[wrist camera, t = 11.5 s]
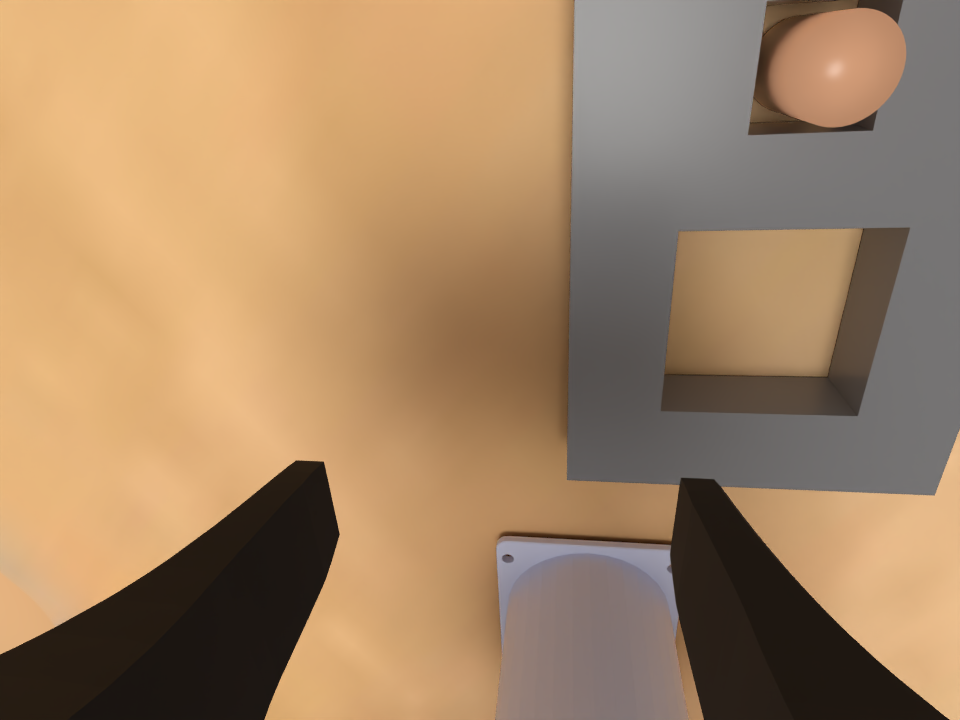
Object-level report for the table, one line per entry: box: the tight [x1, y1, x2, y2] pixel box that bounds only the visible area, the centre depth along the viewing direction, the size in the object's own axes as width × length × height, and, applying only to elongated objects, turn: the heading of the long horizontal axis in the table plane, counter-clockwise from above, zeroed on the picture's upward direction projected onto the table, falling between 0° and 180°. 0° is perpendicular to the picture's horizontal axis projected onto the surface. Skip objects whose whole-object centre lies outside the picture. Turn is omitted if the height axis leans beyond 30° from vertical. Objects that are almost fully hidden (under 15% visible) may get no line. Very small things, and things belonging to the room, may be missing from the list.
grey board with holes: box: [567, 0, 960, 495], centre depth 18 cm, size 16×12×2 cm
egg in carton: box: [753, 8, 906, 128], centre depth 15 cm, size 2×2×4 cm
